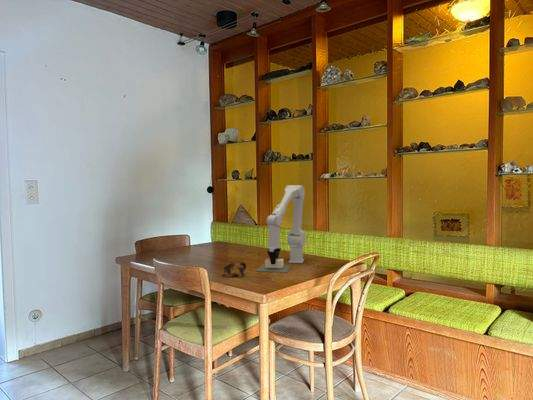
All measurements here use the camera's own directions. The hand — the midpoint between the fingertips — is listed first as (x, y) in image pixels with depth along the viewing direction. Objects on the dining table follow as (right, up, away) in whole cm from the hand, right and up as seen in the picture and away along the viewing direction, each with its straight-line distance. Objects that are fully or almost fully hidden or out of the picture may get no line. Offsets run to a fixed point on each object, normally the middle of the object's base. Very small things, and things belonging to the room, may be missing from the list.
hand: (274, 263), depth 214 cm
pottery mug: (-19, -4, -14) cm, 24 cm away
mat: (0, -3, 0) cm, 3 cm away
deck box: (0, -2, 0) cm, 2 cm away
